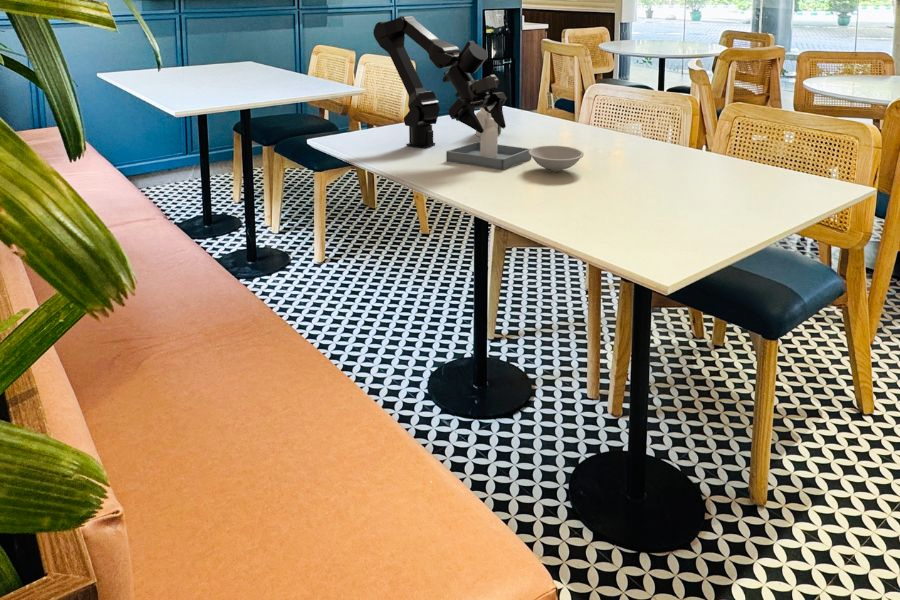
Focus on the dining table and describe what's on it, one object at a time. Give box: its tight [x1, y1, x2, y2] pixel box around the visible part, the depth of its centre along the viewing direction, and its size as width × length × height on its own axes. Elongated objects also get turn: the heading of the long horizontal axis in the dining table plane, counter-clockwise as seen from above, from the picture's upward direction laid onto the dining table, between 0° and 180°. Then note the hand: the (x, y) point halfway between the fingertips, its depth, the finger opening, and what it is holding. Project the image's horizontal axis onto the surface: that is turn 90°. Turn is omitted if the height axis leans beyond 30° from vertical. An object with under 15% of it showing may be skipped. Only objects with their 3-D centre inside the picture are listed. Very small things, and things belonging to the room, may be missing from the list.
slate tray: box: [445, 141, 533, 171], centre depth 230 cm, size 18×16×3 cm
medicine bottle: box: [475, 95, 502, 137], centre depth 261 cm, size 7×7×12 cm
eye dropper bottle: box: [479, 113, 499, 158], centre depth 228 cm, size 4×6×12 cm
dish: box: [529, 145, 585, 173], centre depth 218 cm, size 18×14×5 cm
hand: (493, 129), depth 226 cm, fingers open, 9 cm apart
